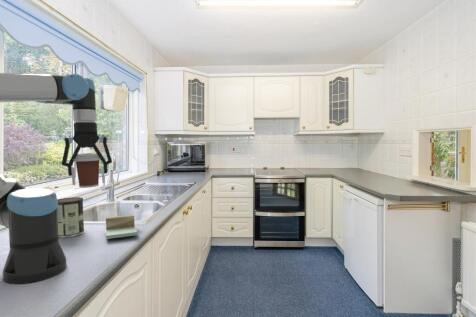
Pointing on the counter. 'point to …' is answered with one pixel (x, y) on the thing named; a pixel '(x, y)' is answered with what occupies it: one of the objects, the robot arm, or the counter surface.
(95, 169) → the coffee cup
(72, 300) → the counter surface
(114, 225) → the brown rectangular block
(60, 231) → the coffee can
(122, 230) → the green square panel
